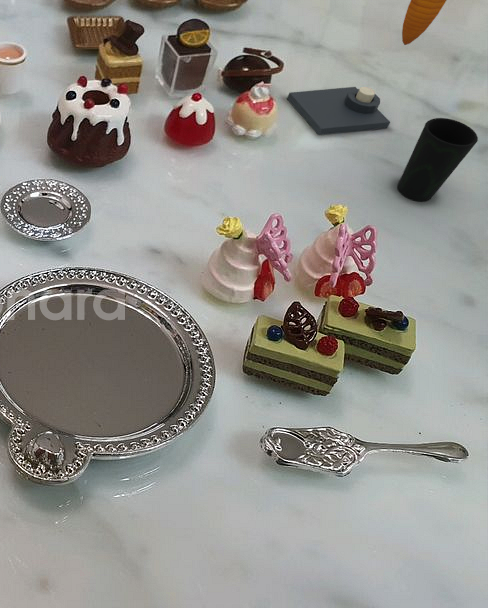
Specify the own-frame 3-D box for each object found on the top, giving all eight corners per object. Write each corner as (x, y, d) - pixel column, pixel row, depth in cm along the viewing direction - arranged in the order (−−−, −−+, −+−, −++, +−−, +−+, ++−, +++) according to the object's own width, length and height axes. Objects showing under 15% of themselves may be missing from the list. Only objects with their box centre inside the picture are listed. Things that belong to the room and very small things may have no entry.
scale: (353, 92, 147) (360, 79, 145) (388, 128, 140) (396, 114, 137) (286, 98, 145) (292, 85, 143) (318, 135, 138) (324, 121, 135)
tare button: (366, 94, 142) (370, 86, 141) (374, 102, 140) (378, 94, 139) (352, 95, 142) (356, 87, 141) (360, 103, 140) (364, 95, 139)
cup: (429, 212, 124) (469, 152, 115) (383, 191, 127) (418, 131, 118) (445, 190, 127) (484, 131, 119) (400, 171, 131) (435, 111, 122)
